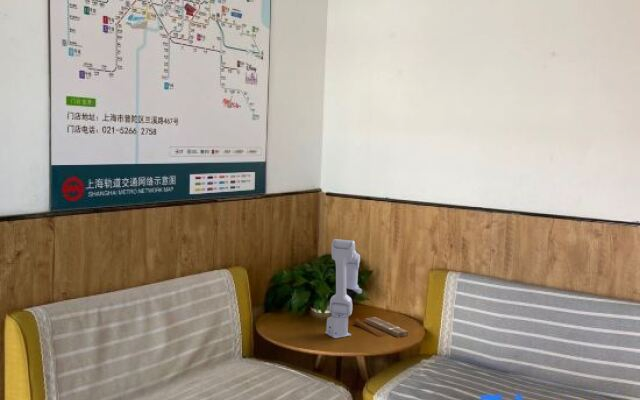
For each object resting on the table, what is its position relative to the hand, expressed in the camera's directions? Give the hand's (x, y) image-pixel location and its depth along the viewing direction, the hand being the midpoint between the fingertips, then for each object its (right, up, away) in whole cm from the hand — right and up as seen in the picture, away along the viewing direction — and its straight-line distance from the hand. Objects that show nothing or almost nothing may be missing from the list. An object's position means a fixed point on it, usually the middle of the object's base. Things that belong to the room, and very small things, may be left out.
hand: (350, 304), depth 283 cm
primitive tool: (+9, -11, -11) cm, 18 cm away
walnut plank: (+16, -10, -8) cm, 21 cm away
